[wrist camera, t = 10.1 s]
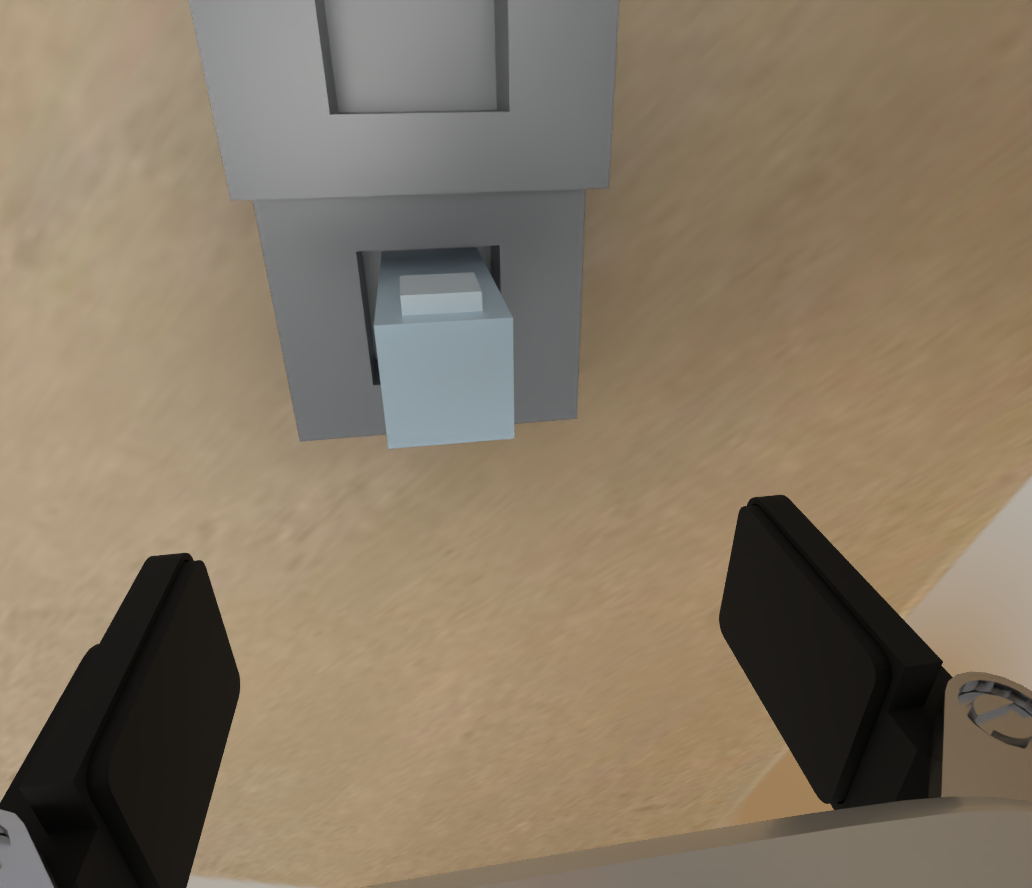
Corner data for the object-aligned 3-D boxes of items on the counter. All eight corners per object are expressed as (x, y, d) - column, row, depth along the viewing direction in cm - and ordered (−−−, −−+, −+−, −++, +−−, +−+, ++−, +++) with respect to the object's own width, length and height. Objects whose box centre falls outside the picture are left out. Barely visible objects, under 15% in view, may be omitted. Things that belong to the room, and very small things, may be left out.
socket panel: (572, -145, 22) (631, -227, 17) (559, 387, 32) (594, 450, 26) (207, -159, 21) (134, -255, 15) (309, 406, 30) (289, 478, 24)
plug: (476, 233, 27) (512, 297, 18) (480, 337, 29) (514, 438, 21) (380, 237, 27) (371, 304, 18) (391, 342, 29) (388, 449, 20)
